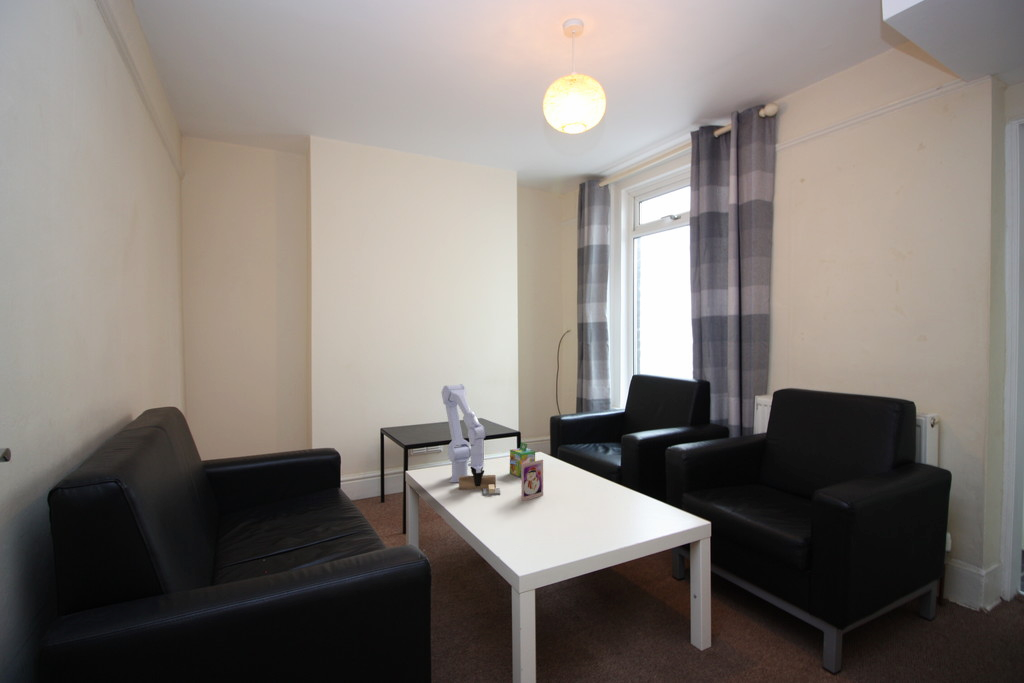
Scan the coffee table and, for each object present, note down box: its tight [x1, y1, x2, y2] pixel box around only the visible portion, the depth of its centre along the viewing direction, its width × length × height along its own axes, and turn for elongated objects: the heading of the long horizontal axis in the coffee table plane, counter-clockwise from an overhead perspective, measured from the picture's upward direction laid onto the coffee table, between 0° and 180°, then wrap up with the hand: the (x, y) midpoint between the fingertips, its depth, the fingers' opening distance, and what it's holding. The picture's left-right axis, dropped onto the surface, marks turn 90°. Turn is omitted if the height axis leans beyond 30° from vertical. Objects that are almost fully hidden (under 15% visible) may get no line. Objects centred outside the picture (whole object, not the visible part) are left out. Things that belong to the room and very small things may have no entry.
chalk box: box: [509, 442, 536, 478], centre depth 225 cm, size 9×9×15 cm
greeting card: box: [520, 457, 544, 502], centre depth 194 cm, size 11×7×15 cm, turn 126°
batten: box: [458, 474, 497, 491], centre depth 205 cm, size 4×16×5 cm, turn 95°
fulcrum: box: [482, 484, 501, 496], centre depth 199 cm, size 6×7×2 cm
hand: (477, 484), depth 205 cm, fingers closed on batten, 4 cm apart
